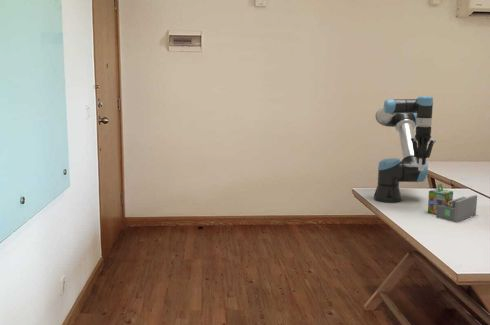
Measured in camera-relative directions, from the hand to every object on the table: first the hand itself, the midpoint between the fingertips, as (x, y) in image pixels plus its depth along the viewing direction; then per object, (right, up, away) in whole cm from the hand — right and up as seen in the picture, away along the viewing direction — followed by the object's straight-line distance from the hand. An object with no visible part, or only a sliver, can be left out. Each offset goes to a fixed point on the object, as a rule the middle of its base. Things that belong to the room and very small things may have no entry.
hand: (421, 170), depth 243 cm
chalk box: (+7, -22, -6) cm, 24 cm away
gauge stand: (+13, -23, -12) cm, 29 cm away
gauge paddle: (+12, -22, -14) cm, 28 cm away
